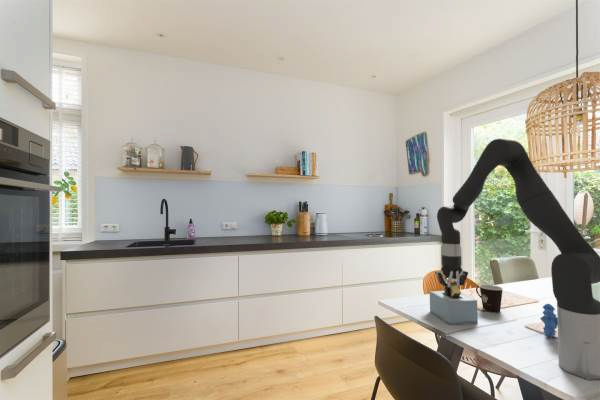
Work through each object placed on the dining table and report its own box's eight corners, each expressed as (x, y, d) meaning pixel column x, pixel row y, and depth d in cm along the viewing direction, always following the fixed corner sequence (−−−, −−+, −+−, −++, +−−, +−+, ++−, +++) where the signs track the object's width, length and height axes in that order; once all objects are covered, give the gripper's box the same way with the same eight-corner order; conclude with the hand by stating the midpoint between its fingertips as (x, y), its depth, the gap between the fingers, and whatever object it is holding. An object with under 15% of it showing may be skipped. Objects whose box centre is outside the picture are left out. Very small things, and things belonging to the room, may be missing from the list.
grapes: (567, 347, 97) (566, 310, 97) (541, 341, 101) (540, 306, 101) (564, 334, 106) (563, 300, 106) (540, 329, 110) (539, 297, 110)
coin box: (477, 323, 117) (477, 300, 117) (448, 324, 116) (448, 301, 116) (456, 310, 131) (455, 290, 131) (430, 311, 130) (429, 291, 130)
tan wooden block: (461, 292, 119) (455, 282, 123) (454, 293, 119) (448, 282, 123) (455, 301, 123) (450, 291, 127) (449, 301, 123) (443, 291, 127)
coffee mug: (507, 314, 125) (506, 290, 126) (484, 313, 127) (484, 289, 127) (494, 304, 137) (494, 283, 137) (474, 304, 139) (473, 282, 139)
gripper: (440, 256, 119) (441, 299, 119) (472, 255, 120) (474, 297, 120) (430, 253, 127) (431, 293, 126) (461, 252, 128) (462, 292, 128)
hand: (452, 295), depth 123 cm, fingers closed on tan wooden block, 2 cm apart
